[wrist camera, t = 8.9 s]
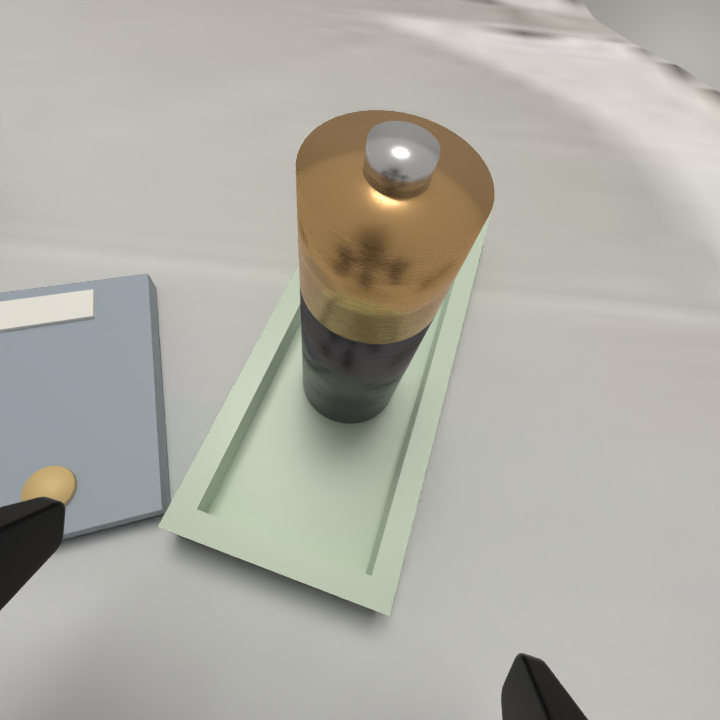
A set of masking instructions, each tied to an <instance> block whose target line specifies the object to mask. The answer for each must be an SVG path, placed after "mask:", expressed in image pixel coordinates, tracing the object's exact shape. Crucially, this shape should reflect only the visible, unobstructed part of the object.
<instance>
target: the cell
mask: <svg viewBox="0 0 720 720" xmlns="http://www.w3.org/2000/svg"><path fill="white" fill-rule="evenodd" d="M296 189H297V220H298V250H299V280H300V310H301V340H302V370H303V387H304V391H305V394H306V397H307V399H308V401H309V402H310V404H311V405H312V406H313V407H314V408H315V410H317V411H318V412H319V413H320V414H321V415H323V416H324V417H326V418H328V419H330V420H333V421H336V422H339V423H346V424H355V423H361V422H364V421H367V420H370V419H372V418H374V417H375V416H377V415H378V414H379V413H380V412H382V411H383V410H384V408H385V407H386V406H387V404H388V403H389V401H390V399H391V398H392V396H393V394H394V392H395V390H396V388H397V386H398V384H399V383H400V381H401V379H402V377H403V375H404V373H405V371H406V370H407V368H408V366H409V364H410V362H411V360H412V358H413V357H414V355H415V353H416V351H417V349H418V347H419V345H420V343H421V342H422V340H423V338H424V336H425V334H426V332H427V330H428V329H429V327H430V325H431V323H432V321H433V319H434V317H435V315H436V314H437V312H438V310H439V308H440V306H441V304H442V302H443V301H444V299H445V297H446V295H447V293H448V291H449V289H450V288H451V286H452V284H453V282H454V280H455V278H456V276H457V274H458V273H459V271H460V269H461V267H462V265H463V263H464V261H465V260H466V258H467V256H468V254H469V252H470V250H471V248H472V247H473V245H474V243H475V241H476V239H477V237H478V235H479V233H480V232H481V230H482V228H483V226H484V224H485V222H486V220H487V219H488V217H489V214H490V212H491V210H492V207H493V202H494V185H493V180H492V177H491V174H490V172H489V170H488V168H487V166H486V164H485V163H484V161H483V160H482V158H481V157H480V155H479V154H478V153H477V152H476V151H475V150H474V149H473V148H472V147H471V146H470V145H469V144H468V143H467V142H466V141H465V140H463V139H462V138H461V137H459V136H458V135H457V134H455V133H453V132H452V131H450V130H449V129H447V128H445V127H443V126H441V125H439V124H437V123H435V122H432V121H430V120H427V119H424V118H421V117H418V116H415V115H411V114H406V113H401V112H395V111H383V110H369V111H359V112H353V113H348V114H345V115H341V116H338V117H336V118H333V119H331V120H329V121H327V122H325V123H323V124H322V125H320V126H319V127H317V128H316V129H315V130H314V131H312V132H311V133H310V134H309V136H308V137H307V138H306V139H305V140H304V142H303V144H302V145H301V147H300V150H299V152H298V155H297V160H296Z"/></svg>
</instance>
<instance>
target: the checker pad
mask: <svg viewBox="0 0 720 720" xmlns="http://www.w3.org/2000/svg"><path fill="white" fill-rule="evenodd" d="M38 497H49V498H52V499H55V500H58V501H61V502H63V503H64V505H65V507H66V511H65V524H64V535H63V539H62V540H64V539H68V538H72V537H76V536H80V535H84V534H88V533H92V532H96V531H99V530H103V529H107V528H111V527H115V526H119V525H123V524H127V523H131V522H135V521H138V520H142V519H146V518H150V517H154V516H158V515H162V514H165V512H166V511H167V509H168V507H169V505H170V503H171V502H170V488H169V473H168V458H167V443H166V429H165V414H164V399H163V385H162V370H161V355H160V340H159V326H158V311H157V296H156V287H155V285H154V283H153V282H152V280H151V278H150V276H149V275H148V274H142V275H134V276H126V277H118V278H111V279H103V280H95V281H87V282H80V283H72V284H64V285H56V286H49V287H41V288H33V289H25V290H18V291H10V292H2V293H0V507H2V506H6V505H10V504H14V503H18V502H22V501H26V500H30V499H34V498H38Z"/></svg>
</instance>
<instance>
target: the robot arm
mask: <svg viewBox="0 0 720 720" xmlns="http://www.w3.org/2000/svg"><path fill="white" fill-rule="evenodd" d="M65 511H66V507H65V505H64V503H63V502H61V501H58V500H55V499H52V498H49V497H38V498H34V499H30V500H26V501H22V502H18V503H14V504H10V505H6V506H2V507H0V610H1V609H2V608H3V607H4V606H5V605H6V604H7V603H8V602H9V601H10V600H11V599H12V597H13V596H14V595H15V594H16V593H17V592H18V591H19V590H20V589H21V588H22V587H23V586H24V585H25V584H26V582H27V581H28V580H29V579H30V578H31V577H32V576H33V575H34V574H35V573H36V572H37V571H38V570H39V568H40V567H41V566H42V565H43V564H44V563H45V562H46V561H47V560H48V559H49V558H50V557H51V556H52V554H53V553H54V552H55V551H56V550H57V549H58V547H59V546H60V544H61V542H62V539H63V535H64V524H65ZM501 705H502V718H503V720H588V719H587V718H586V716H585V715H584V714H583V712H582V711H581V710H580V708H579V707H578V706H577V704H576V703H575V702H574V700H573V699H572V698H571V696H570V695H569V694H568V692H567V691H566V690H565V688H564V687H563V686H562V684H561V683H560V682H559V680H558V679H557V678H556V676H555V675H554V674H553V672H552V671H551V670H550V668H549V667H548V666H547V665H546V663H545V662H544V661H543V660H541V659H539V658H536V657H533V656H530V655H527V654H524V653H520V654H518V655H517V656H516V658H515V660H514V662H513V664H512V666H511V669H510V671H509V673H508V675H507V678H506V680H505V682H504V685H503V688H502V694H501Z"/></svg>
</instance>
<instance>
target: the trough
mask: <svg viewBox="0 0 720 720" xmlns="http://www.w3.org/2000/svg"><path fill="white" fill-rule="evenodd" d="M490 214H491V212H490ZM490 214H489V217H488V219H487V220H486V222H485V224H484V226H483V228H482V230H481V232H480V233H479V235H478V237H477V239H476V241H475V243H474V245H473V247H472V248H471V250H470V252H469V254H468V256H467V258H466V260H465V261H464V263H463V265H462V267H461V269H460V271H459V273H458V274H457V276H456V278H455V280H454V282H453V284H452V286H451V288H450V289H449V291H448V293H447V295H446V297H445V299H444V301H443V302H442V304H441V306H440V308H439V310H438V312H437V314H436V315H435V317H434V319H433V321H432V323H431V325H430V327H429V329H428V330H427V332H426V334H425V336H424V338H423V340H422V342H421V343H420V345H419V347H418V349H417V351H416V353H415V355H414V357H413V358H412V360H411V362H410V364H409V366H408V368H407V370H406V371H405V373H404V375H403V377H402V379H401V381H400V383H399V384H398V386H397V388H396V390H395V392H394V394H393V396H392V398H391V399H390V401H389V403H388V404H387V406H386V407H385V408H384V410H383V411H382V412H380V413H379V414H378V415H377V416H375V417H374V418H372V419H370V420H367V421H364V422H361V423H355V424H346V423H339V422H336V421H333V420H330V419H328V418H326V417H324V416H323V415H321V414H320V413H319V412H318V411H317V410H315V408H314V407H313V406H312V405H311V404H310V402H309V401H308V399H307V397H306V394H305V391H304V387H303V370H302V340H301V310H300V280H299V265H298V267H297V269H296V271H295V273H294V274H293V276H292V278H291V280H290V282H289V284H288V286H287V287H286V289H285V291H284V293H283V295H282V297H281V299H280V300H279V302H278V304H277V306H276V308H275V310H274V312H273V313H272V315H271V317H270V319H269V321H268V323H267V325H266V326H265V328H264V330H263V332H262V334H261V336H260V338H259V339H258V341H257V343H256V345H255V347H254V349H253V351H252V352H251V354H250V356H249V358H248V360H247V362H246V364H245V366H244V367H243V369H242V371H241V373H240V375H239V377H238V379H237V380H236V382H235V384H234V386H233V388H232V390H231V392H230V393H229V395H228V397H227V399H226V401H225V403H224V405H223V406H222V408H221V410H220V412H219V414H218V416H217V418H216V419H215V421H214V423H213V425H212V427H211V429H210V431H209V432H208V434H207V436H206V438H205V440H204V442H203V444H202V445H201V447H200V449H199V451H198V453H197V455H196V457H195V459H194V460H193V462H192V464H191V466H190V468H189V470H188V472H187V473H186V475H185V477H184V479H183V481H182V483H181V485H180V486H179V488H178V490H177V492H176V494H175V496H174V498H173V499H172V501H171V503H170V505H169V507H168V509H167V511H166V512H165V514H164V516H163V518H162V520H161V522H160V524H159V525H158V527H159V528H162V529H164V530H167V531H169V532H172V533H175V534H177V535H180V536H182V537H185V538H188V539H190V540H193V541H195V542H198V543H201V544H203V545H206V546H208V547H211V548H214V549H216V550H219V551H221V552H224V553H226V554H229V555H232V556H234V557H237V558H239V559H242V560H245V561H247V562H250V563H252V564H255V565H258V566H260V567H263V568H265V569H268V570H271V571H273V572H276V573H278V574H281V575H284V576H286V577H289V578H291V579H294V580H297V581H299V582H302V583H304V584H307V585H310V586H312V587H315V588H317V589H320V590H323V591H325V592H328V593H330V594H333V595H336V596H338V597H341V598H343V599H346V600H349V601H351V602H354V603H356V604H359V605H361V606H364V607H367V608H369V609H372V610H374V611H377V612H380V613H382V614H385V615H387V616H390V613H391V609H392V605H393V601H394V597H395V593H396V589H397V585H398V581H399V577H400V573H401V569H402V565H403V561H404V557H405V553H406V549H407V545H408V541H409V537H410V533H411V529H412V525H413V521H414V517H415V513H416V509H417V505H418V501H419V497H420V493H421V489H422V485H423V481H424V477H425V473H426V469H427V465H428V461H429V457H430V453H431V449H432V445H433V441H434V437H435V433H436V429H437V425H438V421H439V417H440V414H441V410H442V406H443V402H444V398H445V394H446V390H447V386H448V382H449V378H450V374H451V370H452V366H453V362H454V358H455V354H456V350H457V346H458V342H459V338H460V334H461V330H462V326H463V322H464V318H465V314H466V310H467V306H468V302H469V298H470V294H471V290H472V286H473V282H474V278H475V274H476V270H477V266H478V262H479V258H480V254H481V250H482V246H483V242H484V238H485V234H486V230H487V226H488V222H489V218H490Z"/></svg>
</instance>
